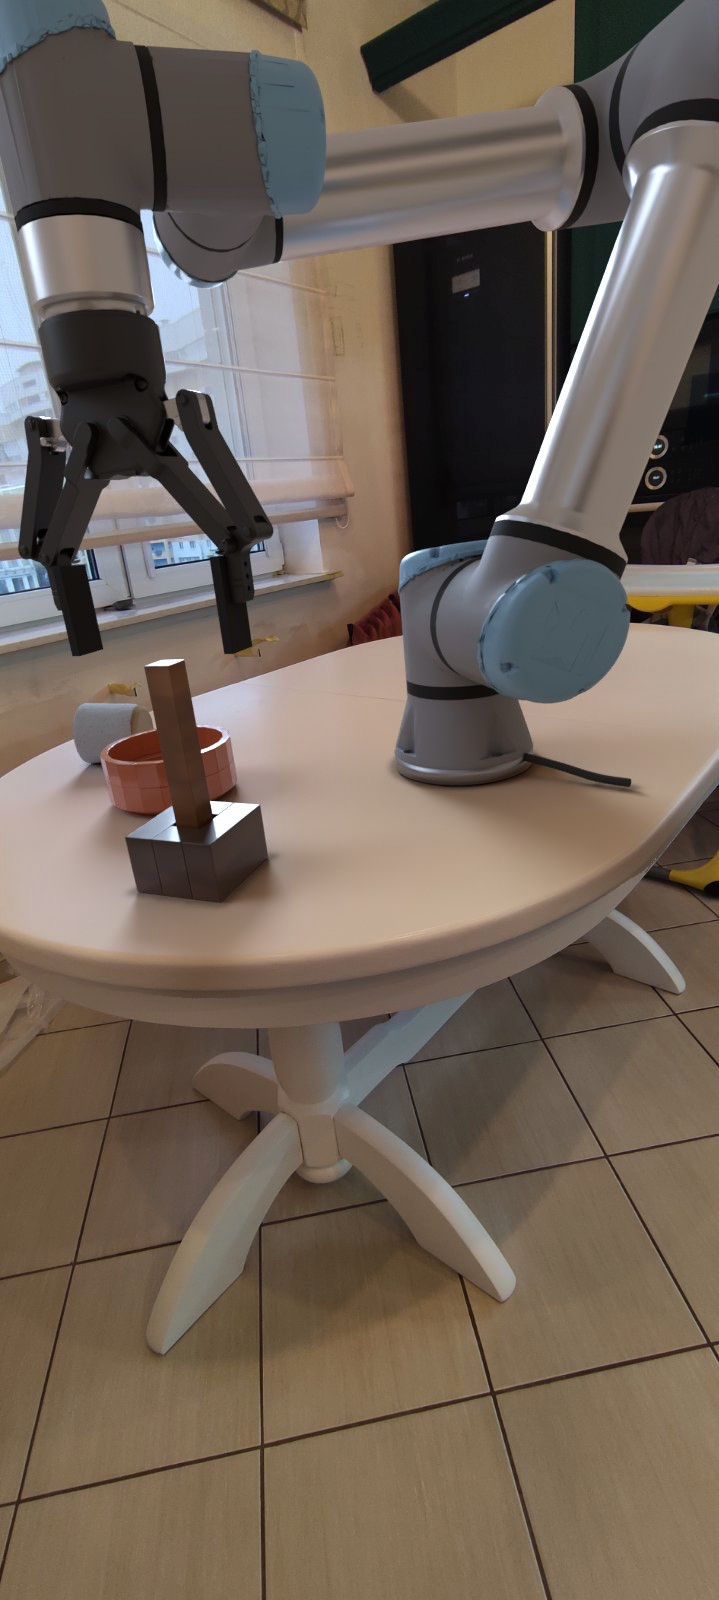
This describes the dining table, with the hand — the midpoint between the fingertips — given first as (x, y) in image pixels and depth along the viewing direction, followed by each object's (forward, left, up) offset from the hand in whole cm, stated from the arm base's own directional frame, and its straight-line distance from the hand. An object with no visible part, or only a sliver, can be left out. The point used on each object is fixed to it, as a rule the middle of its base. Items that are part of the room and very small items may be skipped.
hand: (160, 652), depth 54 cm
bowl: (+14, -16, -19) cm, 28 cm away
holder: (0, 0, -19) cm, 19 cm away
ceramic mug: (+30, -27, -19) cm, 45 cm away
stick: (0, 0, -19) cm, 19 cm away
